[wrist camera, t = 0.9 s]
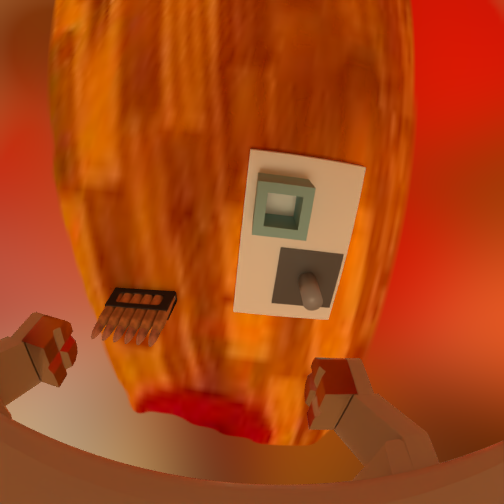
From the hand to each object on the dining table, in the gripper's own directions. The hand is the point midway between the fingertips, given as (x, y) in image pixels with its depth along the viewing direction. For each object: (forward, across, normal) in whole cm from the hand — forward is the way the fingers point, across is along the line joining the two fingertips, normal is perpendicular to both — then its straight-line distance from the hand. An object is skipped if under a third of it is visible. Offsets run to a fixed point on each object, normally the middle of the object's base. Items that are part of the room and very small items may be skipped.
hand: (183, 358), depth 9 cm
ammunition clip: (+33, +13, +20) cm, 41 cm away
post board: (+33, -9, +8) cm, 35 cm away
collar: (+31, -6, +2) cm, 32 cm away
